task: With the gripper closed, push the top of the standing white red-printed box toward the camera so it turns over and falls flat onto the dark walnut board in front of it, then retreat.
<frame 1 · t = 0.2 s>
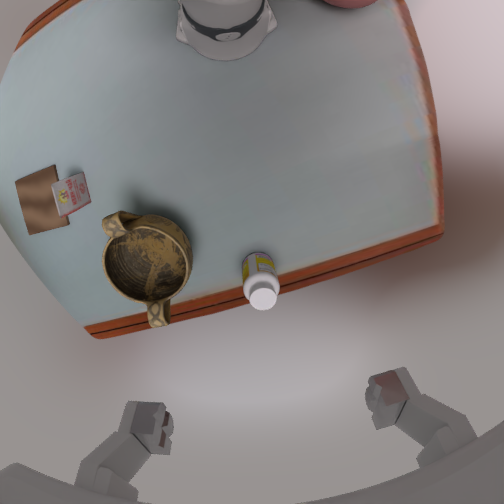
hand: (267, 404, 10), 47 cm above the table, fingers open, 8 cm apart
white red-printed box: (81, 188, 51), on the table
supplement bottle: (257, 265, 61), on the table
ceramic bowl: (158, 243, 57), on the table
walnut board: (41, 201, 51), on the table
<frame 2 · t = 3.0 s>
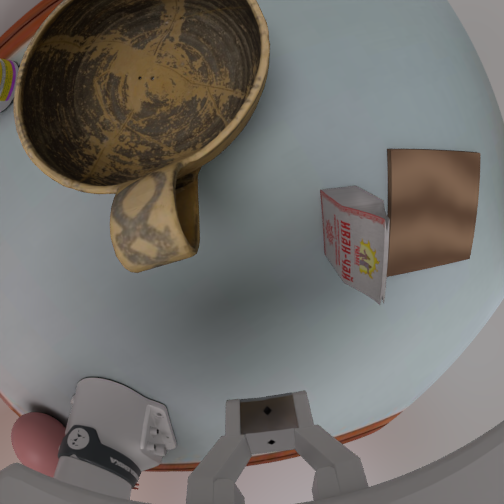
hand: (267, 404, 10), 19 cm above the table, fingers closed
white red-printed box: (339, 219, 28), on the table
supplement bottle: (5, 86, 18), on the table
balloon: (60, 425, 43), on the table
ceramic bowl: (163, 87, 21), on the table
walnut board: (436, 210, 27), on the table
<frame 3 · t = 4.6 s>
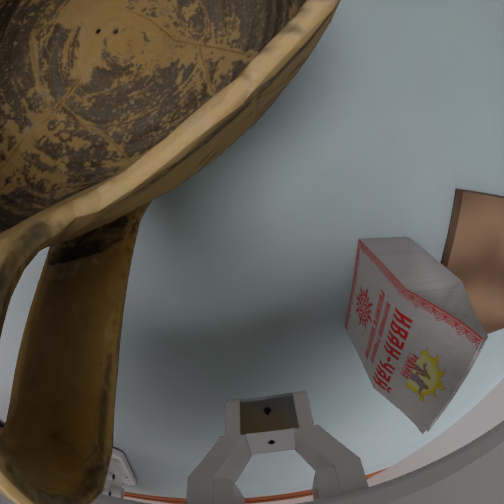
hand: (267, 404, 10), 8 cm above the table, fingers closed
white red-printed box: (375, 282, 18), on the table
ceramic bowl: (130, 46, 11), on the table
walnut board: (488, 273, 18), on the table
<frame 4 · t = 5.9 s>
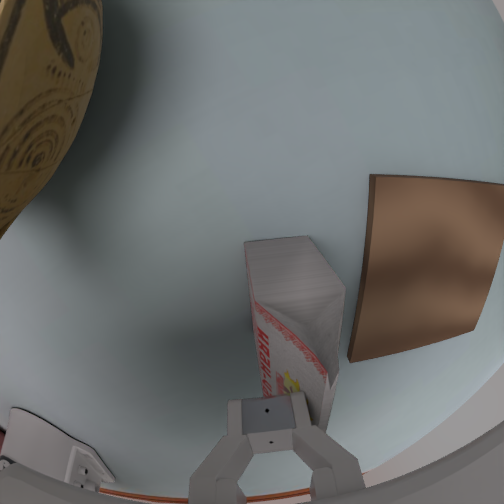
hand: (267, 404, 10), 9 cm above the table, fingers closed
white red-printed box: (278, 287, 18), on the table, touching gripper
ceramic bowl: (31, 90, 11), on the table
walnut board: (439, 270, 18), on the table
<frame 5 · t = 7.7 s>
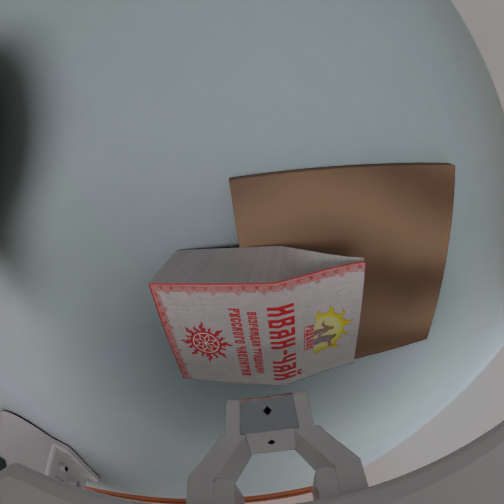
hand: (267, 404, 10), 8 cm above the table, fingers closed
white red-printed box: (176, 316, 16), point 2 cm above the table, touching walnut board
walnut board: (355, 275, 17), on the table
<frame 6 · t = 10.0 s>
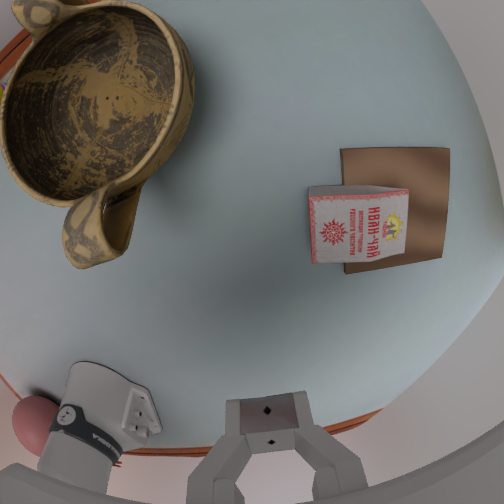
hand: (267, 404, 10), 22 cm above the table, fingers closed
white red-printed box: (308, 224, 28), point 2 cm above the table, touching walnut board
balloon: (58, 409, 48), on the table
ceramic bowl: (127, 105, 24), on the table
walnut board: (399, 208, 29), on the table
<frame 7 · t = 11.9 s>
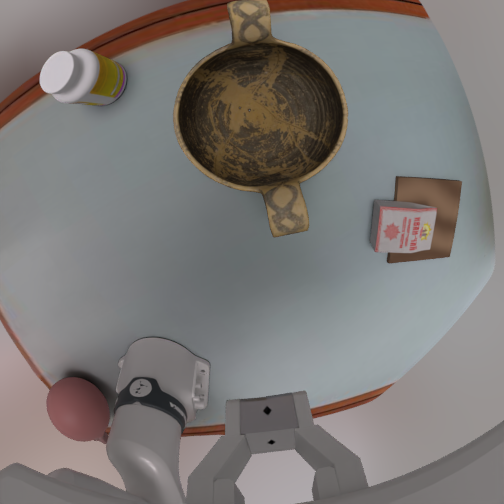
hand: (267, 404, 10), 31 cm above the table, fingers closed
white red-printed box: (373, 225, 39), point 2 cm above the table, touching walnut board
supplement bottle: (107, 83, 30), on the table
balloon: (93, 391, 55), on the table
ceramic bowl: (255, 118, 34), on the table
walnut board: (425, 219, 40), on the table
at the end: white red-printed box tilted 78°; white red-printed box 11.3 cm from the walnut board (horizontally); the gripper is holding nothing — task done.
